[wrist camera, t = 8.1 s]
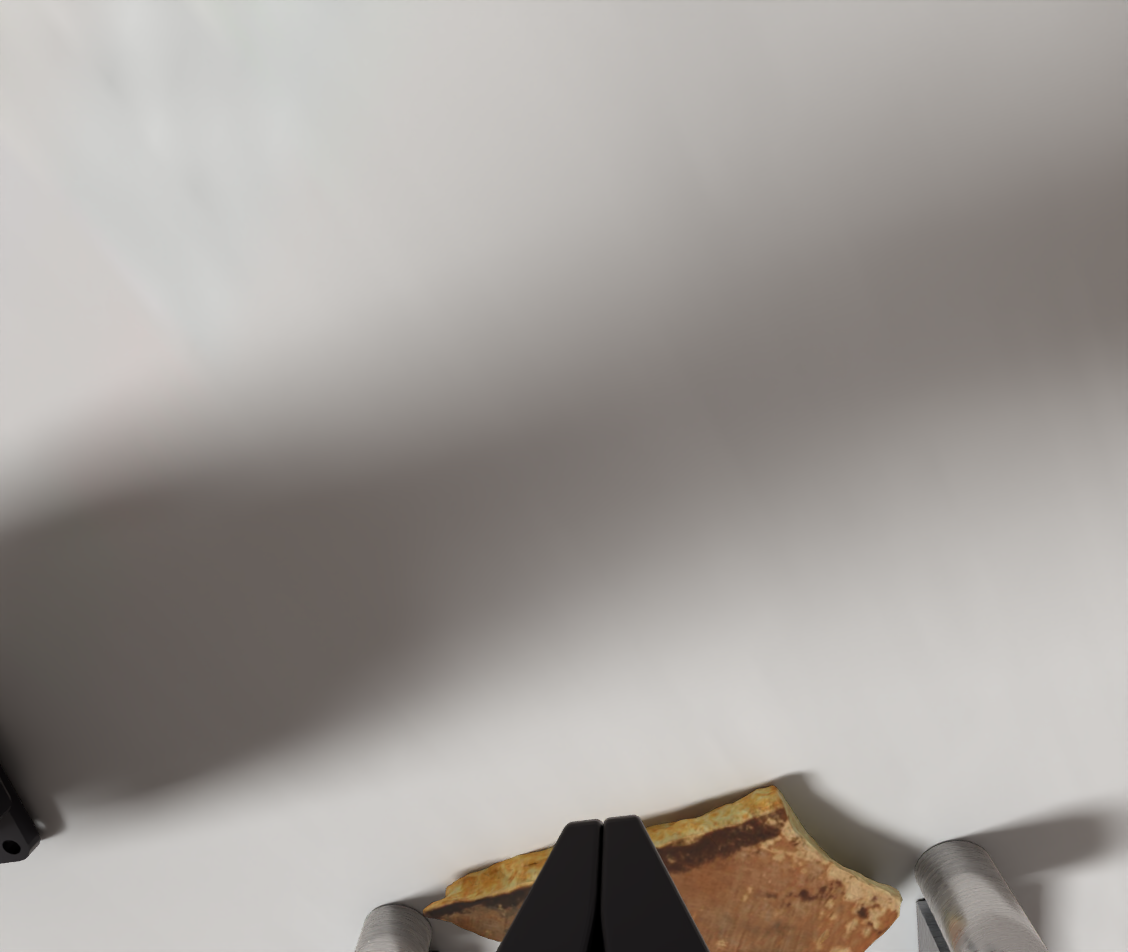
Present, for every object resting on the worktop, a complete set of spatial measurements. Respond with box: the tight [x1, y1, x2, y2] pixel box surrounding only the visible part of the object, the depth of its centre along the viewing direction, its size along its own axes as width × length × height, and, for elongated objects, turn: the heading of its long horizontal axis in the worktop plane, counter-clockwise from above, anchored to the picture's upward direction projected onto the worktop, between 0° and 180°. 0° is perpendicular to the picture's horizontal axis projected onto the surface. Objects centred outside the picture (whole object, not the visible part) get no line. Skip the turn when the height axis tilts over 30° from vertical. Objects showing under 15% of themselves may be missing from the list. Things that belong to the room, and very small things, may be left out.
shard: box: [423, 785, 902, 952], centre depth 19 cm, size 11×8×2 cm
